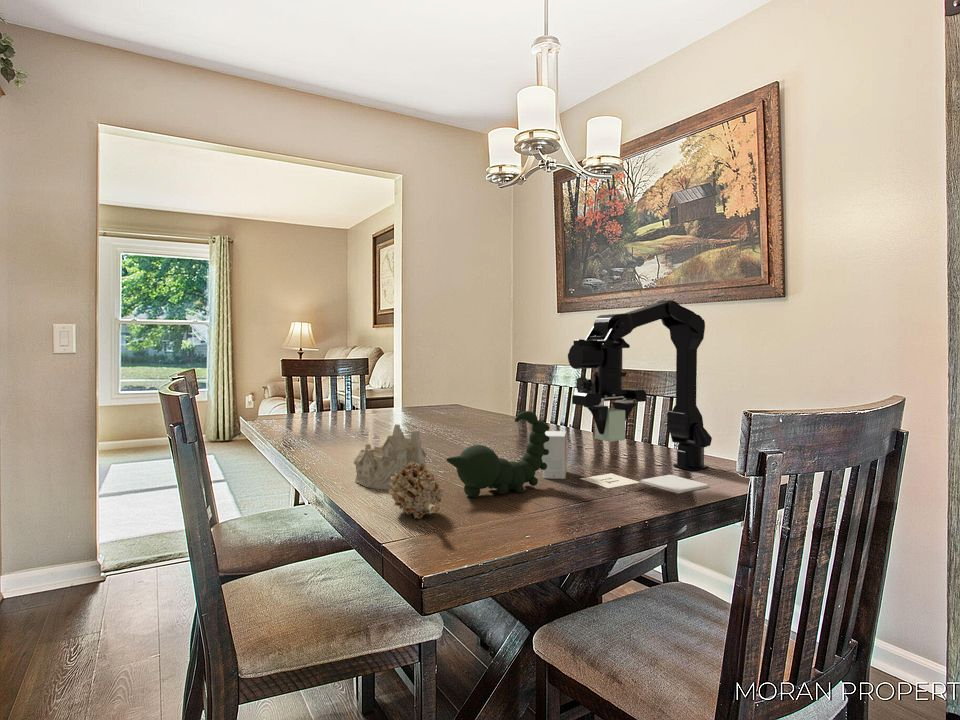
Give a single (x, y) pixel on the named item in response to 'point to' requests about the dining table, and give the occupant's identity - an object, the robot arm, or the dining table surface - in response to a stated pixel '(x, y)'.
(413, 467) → the pine cone
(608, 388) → the robot arm
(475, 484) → the toy figurine
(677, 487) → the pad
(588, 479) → the tile
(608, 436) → the sage block
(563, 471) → the small box
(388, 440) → the ceramic cottage
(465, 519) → the dining table surface
